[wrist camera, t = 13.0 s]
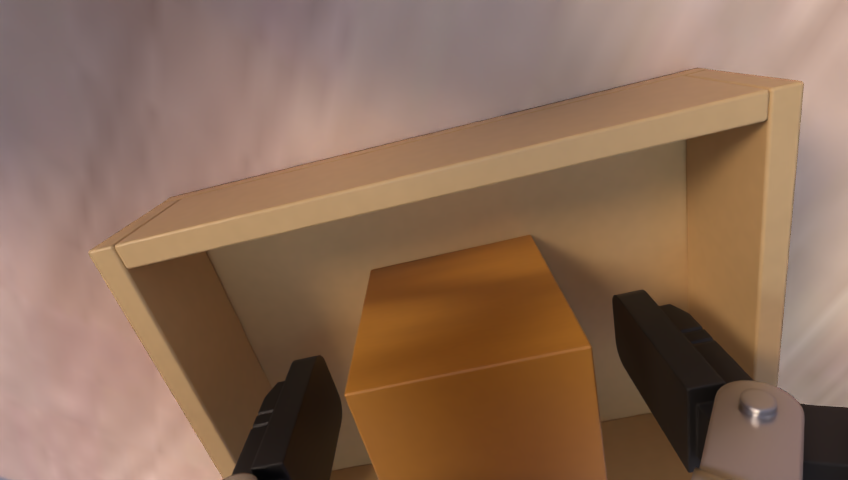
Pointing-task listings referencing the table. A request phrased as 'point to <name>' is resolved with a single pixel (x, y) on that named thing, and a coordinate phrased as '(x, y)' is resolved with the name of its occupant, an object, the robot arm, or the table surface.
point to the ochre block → (475, 371)
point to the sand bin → (474, 226)
